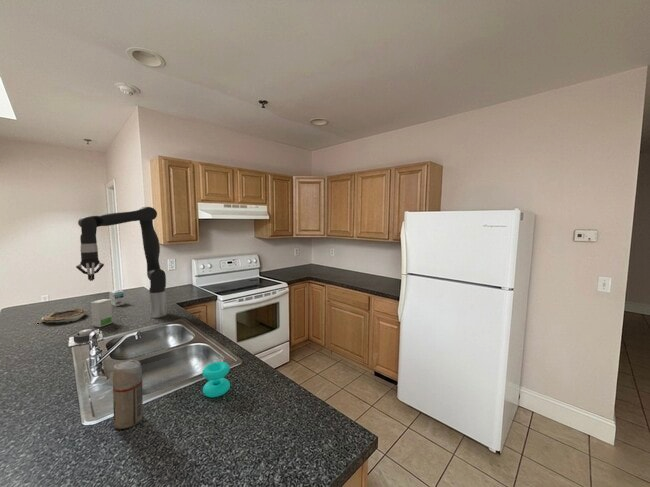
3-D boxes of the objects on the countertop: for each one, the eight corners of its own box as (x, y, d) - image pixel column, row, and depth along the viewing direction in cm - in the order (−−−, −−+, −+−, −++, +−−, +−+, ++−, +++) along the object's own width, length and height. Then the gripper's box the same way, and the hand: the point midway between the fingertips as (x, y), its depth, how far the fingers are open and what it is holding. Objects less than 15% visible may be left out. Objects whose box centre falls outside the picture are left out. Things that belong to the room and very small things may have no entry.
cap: (92, 335, 156) (91, 328, 155) (92, 338, 152) (92, 330, 151) (79, 337, 152) (79, 330, 151) (79, 341, 148) (79, 333, 148)
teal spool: (218, 357, 113) (235, 364, 108) (219, 380, 114) (235, 388, 109) (196, 368, 105) (212, 376, 99) (197, 393, 106) (213, 402, 100)
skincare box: (100, 327, 168) (98, 302, 167) (91, 326, 169) (89, 302, 168) (113, 322, 176) (111, 299, 175) (104, 321, 177) (103, 298, 176)
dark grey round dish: (101, 331, 162) (101, 325, 161) (103, 339, 151) (102, 333, 151) (69, 338, 152) (69, 332, 152) (68, 347, 142) (68, 340, 142)
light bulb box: (125, 304, 213) (124, 290, 212) (115, 306, 208) (114, 292, 207) (119, 302, 219) (118, 288, 218) (109, 304, 213) (108, 290, 212)
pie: (92, 310, 200) (91, 303, 200) (94, 320, 181) (94, 313, 180) (37, 319, 181) (36, 312, 181) (33, 332, 161) (32, 324, 161)
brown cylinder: (124, 412, 95) (121, 357, 93) (149, 411, 95) (146, 357, 94) (107, 431, 86) (103, 371, 85) (134, 430, 87) (130, 370, 85)
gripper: (103, 249, 165) (105, 277, 166) (74, 251, 156) (76, 281, 157) (104, 251, 159) (106, 280, 161) (73, 252, 150) (76, 283, 152)
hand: (91, 280), depth 159 cm, fingers closed
